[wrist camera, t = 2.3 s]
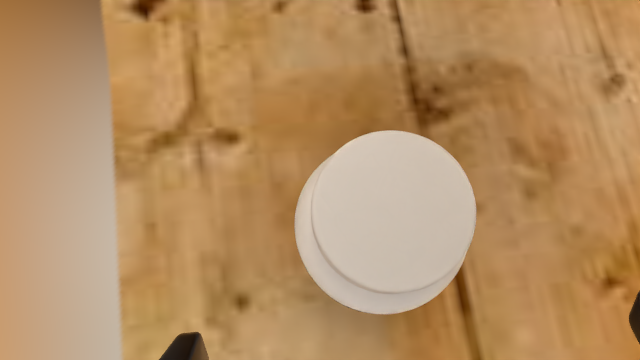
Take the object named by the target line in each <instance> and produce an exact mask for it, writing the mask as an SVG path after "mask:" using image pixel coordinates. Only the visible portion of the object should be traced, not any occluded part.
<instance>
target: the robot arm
mask: <svg viewBox="0 0 640 360" xmlns="http://www.w3.org/2000/svg"><path fill="white" fill-rule="evenodd" d="M629 322H630V326H631V328H632V330H633V332H634V334H635V336H636V338H637V340H638V342H639V344H640V291H639V292H638V294H637V297H636V299H635V302H634V304H633V307H632V309H631V312H630V315H629ZM159 360H209V357H208V354H207V351H206V348H205V345H204V342H203V339H202V336H201V334H200V333H199V332H190V333H182V334H180V335H178V336H177V337H176V338H175V340H174V341H173V342H172V343H171V345H170V346H169V347H168V349H167V350H166V351H165V353H164V354H163V355H162V356H161V358H160V359H159Z"/></svg>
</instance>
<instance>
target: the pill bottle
mask: <svg viewBox="0 0 640 360" xmlns="http://www.w3.org/2000/svg"><path fill="white" fill-rule="evenodd" d="M475 226H476V202H475V198H474V193H473V189H472V186H471V184H470V182H469V180H468V178H467V175H466V174H465V172H464V171H463V169H462V167H461V166H460V164H459V163H458V162H457V161H456V160H455V158H454V157H453V156H452V155H451V154H449V153H448V152H447V151H446V150H445V149H444V148H442V147H441V146H439V145H438V144H436V143H435V142H433V141H431V140H429V139H428V138H425V137H422V136H420V135H417V134H414V133H409V132H404V131H395V130H388V131H378V132H372V133H368V134H366V135H363V136H360V137H358V138H355V139H353V140H351V141H350V142H348V143H347V144H345V145H344V146H342V147H341V148H340V149H338V150H337V151H336V152H335V153H334V154H333V155H331V156H330V157H328V158H327V159H326V160H325V161H324V162H323V163H321V164H320V165H319V167H318V168H317V169H316V170H315V171H314V172H313V173H312V174H311V176H310V177H309V179H308V180H307V182H306V184H305V185H304V187H303V189H302V191H301V194H300V197H299V200H298V203H297V207H296V212H295V237H296V243H297V247H298V251H299V254H300V257H301V259H302V261H303V264H304V265H305V268H306V270H307V271H308V273H309V274H310V276H311V277H312V279H313V280H314V281H315V282H316V284H317V285H318V286H319V287H320V288H321V289H322V290H323V291H324V292H325V293H326V294H327V295H328V296H330V297H331V298H332V299H334V300H336V301H337V302H339V303H340V304H342V305H344V306H346V307H349V308H351V309H354V310H357V311H361V312H365V313H372V314H394V313H401V312H405V311H408V310H412V309H415V308H417V307H419V306H421V305H423V304H425V303H427V302H429V301H430V300H432V299H433V298H435V297H436V296H437V295H438V294H439V293H440V292H441V291H442V290H444V289H445V288H446V287H447V286H448V284H449V283H450V282H451V281H452V280H453V278H454V277H455V275H456V274H457V272H458V271H459V269H460V267H461V265H462V263H463V261H464V258H465V256H466V252H467V250H468V248H469V246H470V244H471V241H472V238H473V235H474V231H475Z"/></svg>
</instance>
